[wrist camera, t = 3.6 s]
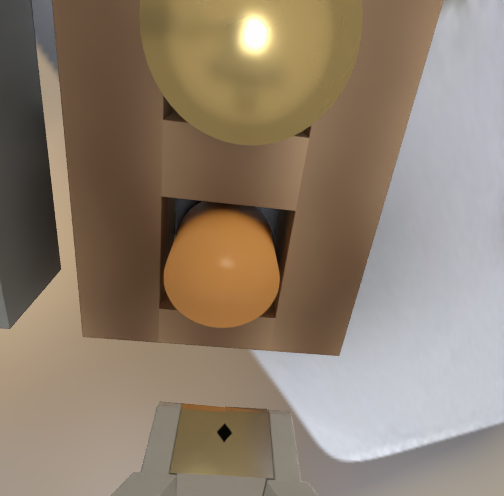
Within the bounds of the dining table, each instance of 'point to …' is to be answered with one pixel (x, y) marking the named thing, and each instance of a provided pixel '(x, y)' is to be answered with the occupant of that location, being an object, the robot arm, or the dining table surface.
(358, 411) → the dining table surface
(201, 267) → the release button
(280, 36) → the gold metal peg
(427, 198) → the dining table surface
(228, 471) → the robot arm
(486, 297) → the dining table surface
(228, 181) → the socket base
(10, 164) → the rack
